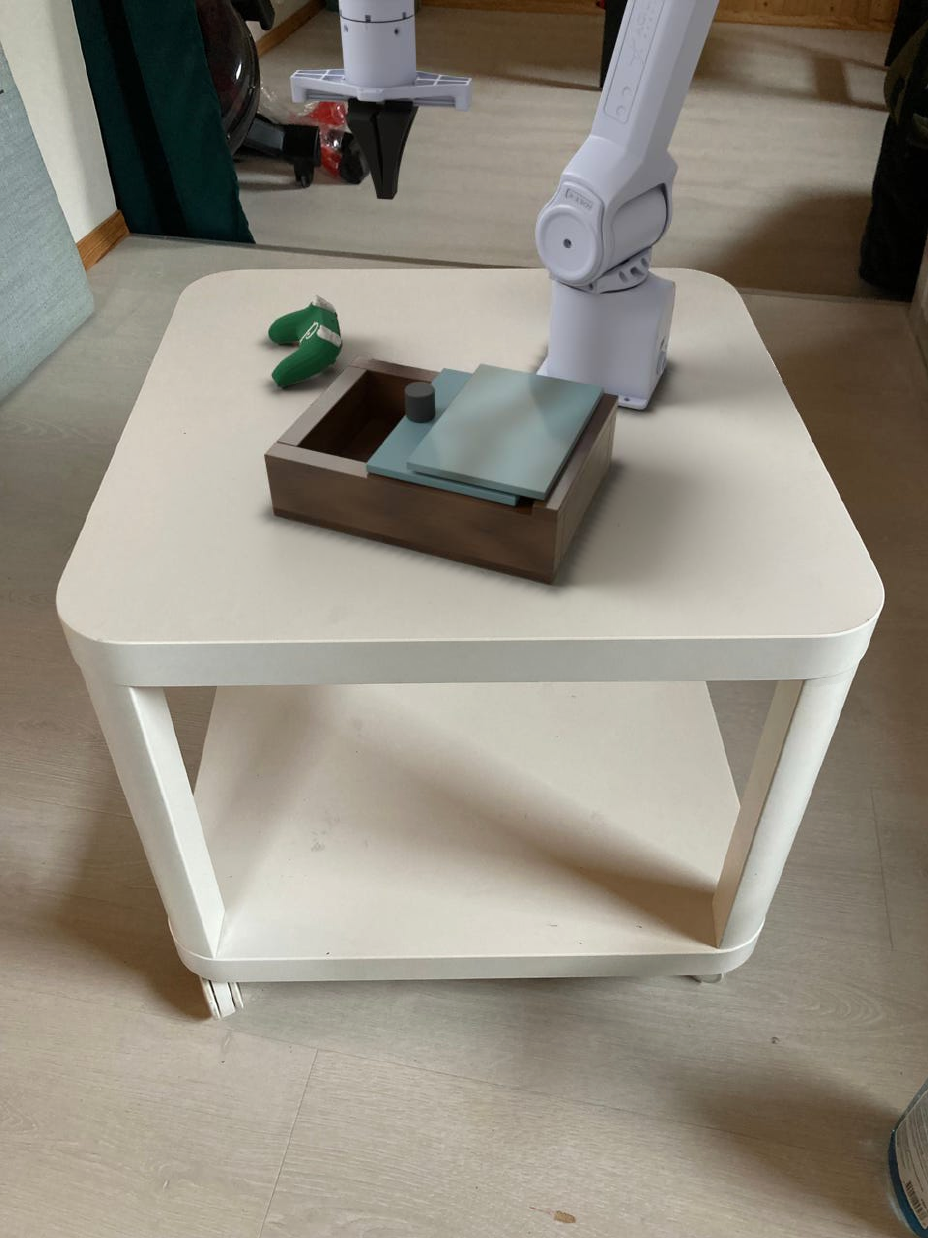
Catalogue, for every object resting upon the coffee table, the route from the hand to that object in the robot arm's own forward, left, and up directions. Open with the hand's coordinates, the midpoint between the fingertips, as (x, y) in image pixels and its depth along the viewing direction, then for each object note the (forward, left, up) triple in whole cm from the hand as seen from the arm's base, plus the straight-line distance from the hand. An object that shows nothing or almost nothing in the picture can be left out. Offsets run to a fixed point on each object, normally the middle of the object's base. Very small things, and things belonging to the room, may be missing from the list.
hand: (387, 195), depth 85 cm
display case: (-16, +26, -9) cm, 32 cm away
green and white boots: (+2, +13, -10) cm, 16 cm away
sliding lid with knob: (-18, +26, -4) cm, 32 cm away
